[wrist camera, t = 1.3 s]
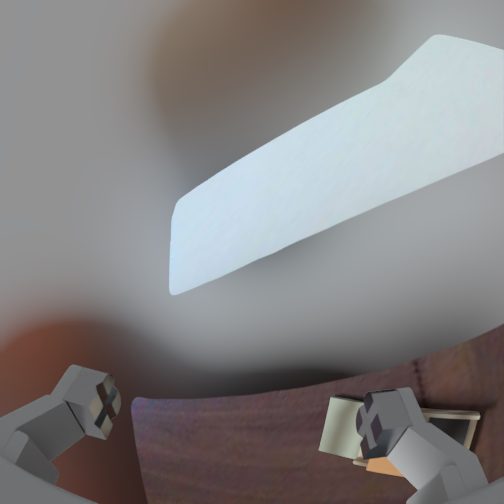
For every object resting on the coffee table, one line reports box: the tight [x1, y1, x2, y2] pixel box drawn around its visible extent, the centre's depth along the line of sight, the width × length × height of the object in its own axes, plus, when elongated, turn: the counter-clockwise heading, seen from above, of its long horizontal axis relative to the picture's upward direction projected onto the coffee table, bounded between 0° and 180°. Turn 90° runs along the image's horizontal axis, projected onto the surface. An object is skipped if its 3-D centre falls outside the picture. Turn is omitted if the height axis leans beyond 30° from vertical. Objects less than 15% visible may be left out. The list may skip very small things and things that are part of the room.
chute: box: [319, 396, 480, 467], centre depth 35 cm, size 25×10×4 cm, turn 77°
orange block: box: [366, 457, 404, 477], centre depth 32 cm, size 6×6×8 cm
